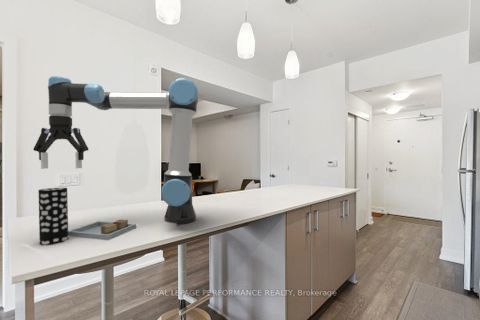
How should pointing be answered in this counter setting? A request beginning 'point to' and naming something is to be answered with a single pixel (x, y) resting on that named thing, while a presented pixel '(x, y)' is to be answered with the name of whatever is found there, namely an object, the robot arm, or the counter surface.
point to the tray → (98, 231)
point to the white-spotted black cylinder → (53, 216)
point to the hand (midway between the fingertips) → (61, 168)
